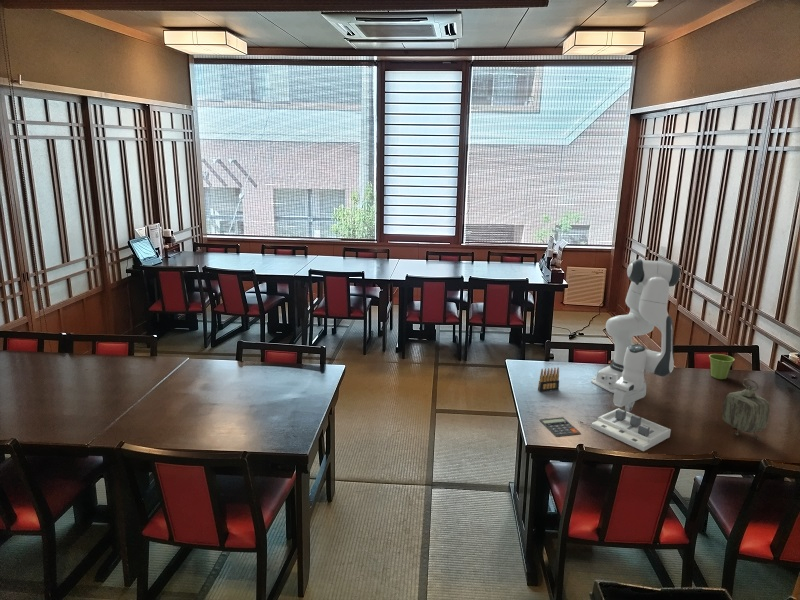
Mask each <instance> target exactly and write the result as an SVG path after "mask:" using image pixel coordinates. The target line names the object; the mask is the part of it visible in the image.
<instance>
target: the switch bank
mask: <svg viewBox="0 0 800 600" xmlns="http://www.w3.org/2000/svg"><path fill="white" fill-rule="evenodd" d="M618 409H621V407H617V408H616V409H614V410H613V409H612V411H609V412H607V413H604V414H602V415H600V416H598V417H597V420H595V421H593V422H592V423H591V426H590V427H591V428H592V429H594V430H596V431H597V432H601V433H602V434H605V435H606V436H609V437H611V438H613V439H616V440H618V441H620V442H622V443H624V444H627V445H629V446H630V447H632V448H635V449H637V450H639V451H642V452H645V451H647V450H648V449H650V448H652V447H654V446H656V445H658V444H659V443H661V442H664V441H665V440H666V439H669V438H670V437H671V431H672V429H670V428H668V427H666V426H663V425H661V424H658V423H656V422H653V421H651V420H648V419H646V418H644V417H642V418H641V425H645V426H647V427H649V428H650V430H649V436H647V437H645V436H643V435H641V434H638V428H639V426H638V427H635V426H633V425H630V419H631V416H633V415H635V414H634V413H631V412H630V411H629V412H627V411H626V419H624V420H622V421H621V420H619V419H616V418H615V415H616V410H618ZM641 425H640V426H641Z"/></svg>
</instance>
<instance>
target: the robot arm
mask: <svg viewBox="0 0 800 600" xmlns="http://www.w3.org/2000/svg"><path fill="white" fill-rule="evenodd" d="M626 274H627V278H628V279H629V281H631V282H630V284H629V288H628V291H627V293H626V296H625V305H626V306H627V308H629V312H628V314H621V315H615V316H612V317H609V318H608V319H607V321H606V323H605V331H606V333H607V334H608V335H609V336H610V337H611V338H612V340H613V343H614V356H613V359H610V360H608V364H609V365H607V366H605V367H603V368H601V369H599V370H598V372H597V373H596V376H594V377H593V378H591V380H590V383H592V384H594V385H595V386H598V387H600V388H602V389H604V390H606V391H608V392H610V393H612V394H613V399H612V402H613V405H614V406H615V407H617V408H623V407H624V410H625V411H627V412H629V413H630V412H631V411H633V407H634V405H635V403H636V401H638V400H641V399H643V398H645V396H646V394H647V382H646V379H645V375H644V374H645V372H647V373H650V374H654V375H656V376H659V377H662V378H663V377H666V376H669V375H670V374H672V372H673V370H674V368H675V367H674V366H675V362H674V322H673V318H672V317H671V316H670V315H669V312H668V302H669V295H670V287H674V286H676V285H677V284H678V283H679V280H680V278H681V269H680V267H679V266H678V265H677V264H673V263H668V262H666V261H665V262H664V261H660V260H648V259H647V260H645V259H640V258H639V259H638V258H637V259H632V260H631V261H630V263H629V265H628V266H627V269H626ZM654 328H657V329H658V330H659V332H660V334H661V348H660V349H661V351H656V350H651V349H649V348H646V347H645V346H643V345H642V344H636V343H634V342H633V341H634V340H633V338H634V337H638V336H644V335H647V334H650V333H651V332H653V330H654Z"/></svg>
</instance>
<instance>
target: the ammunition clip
mask: <svg viewBox="0 0 800 600" xmlns="http://www.w3.org/2000/svg"><path fill="white" fill-rule="evenodd" d="M543 369H544V370H543ZM559 387H560V368H559V366H558V367H557V368H556V367H551V368H549V367H548V369H547V368H546V367H544V368H541V370H540V375H539V381H538V386H537V391H538V392H539V393H541V392H543V393H544V392H549V391H550V390H552V391H560V390H559ZM550 392H551V391H550Z"/></svg>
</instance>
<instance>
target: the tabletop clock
mask: <svg viewBox="0 0 800 600" xmlns="http://www.w3.org/2000/svg"><path fill="white" fill-rule="evenodd" d="M745 381H749V382H752V383H753V384H755V385H756V388H752V386H751V385H748V386H747V385H746V384H745V383H744V382H745ZM741 382H742V385H743V386H744V387H745V389H743V390H738V391H733V392H729V393H728V394H727V395H726V397H725V398H724V402H723V407H722V412H721V413H722V414H721V415H722V420H723V421H724V422H725V423H727V424H729V425H730V426H731V428H733V429H735V428H736V429H737V430H736V431H735V432H734V435H735V436H740V431H742V432H744V433H749V434H753V435H754V439H755V440H757V439H758V440H760V436H759V435H757V432H760V431H764V430H765V429H766V427H767V425H768V422H769V419H770V413H771V411H770V410H771V407H770V402H769V401H768V400H766V399H765V398H763V397H761V396H760V395H758V394H756V392H755V391H758V389H759V384H758V383H757V382H756V381H754V380H753V379H750V378H744V379H743V380H742V381H741Z"/></svg>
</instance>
